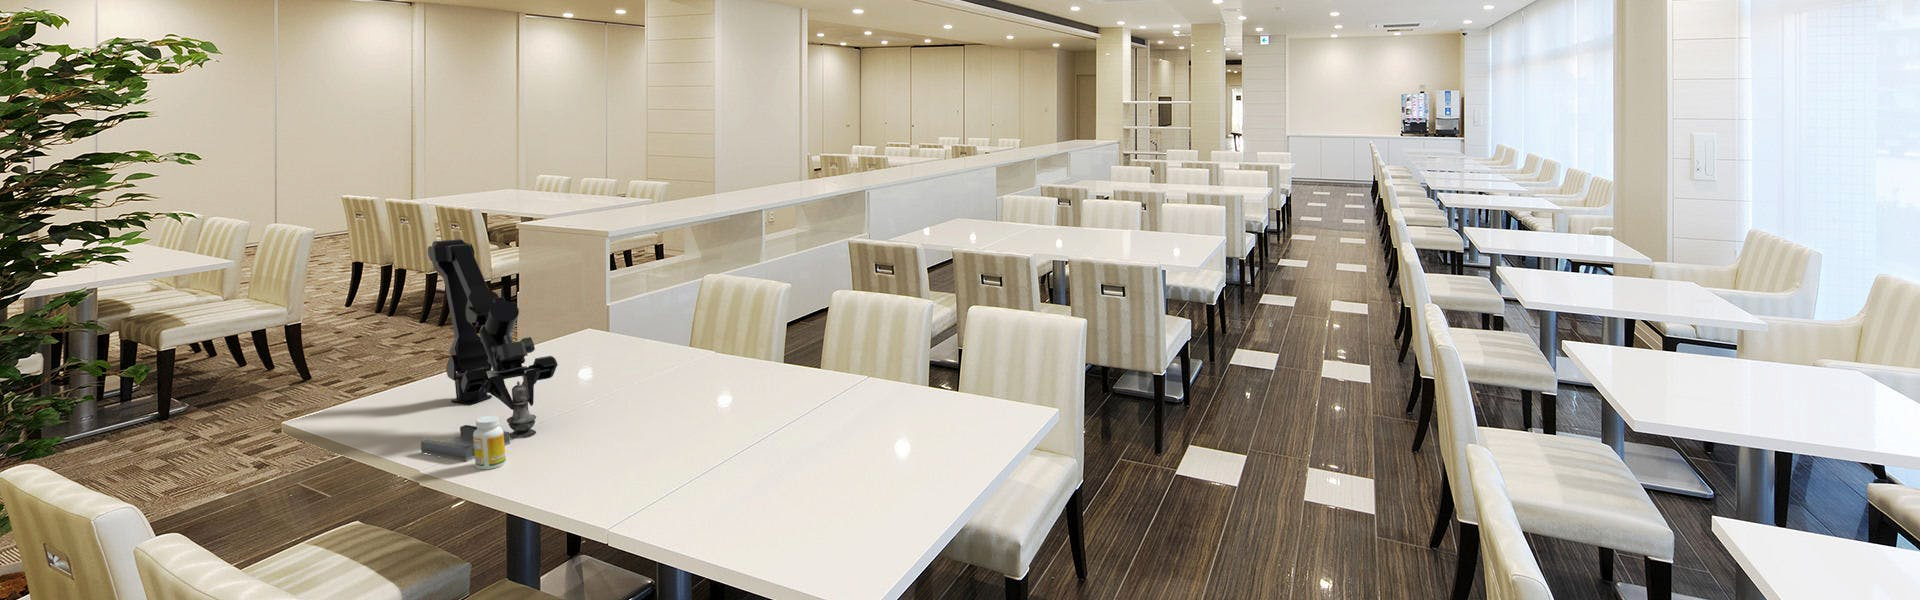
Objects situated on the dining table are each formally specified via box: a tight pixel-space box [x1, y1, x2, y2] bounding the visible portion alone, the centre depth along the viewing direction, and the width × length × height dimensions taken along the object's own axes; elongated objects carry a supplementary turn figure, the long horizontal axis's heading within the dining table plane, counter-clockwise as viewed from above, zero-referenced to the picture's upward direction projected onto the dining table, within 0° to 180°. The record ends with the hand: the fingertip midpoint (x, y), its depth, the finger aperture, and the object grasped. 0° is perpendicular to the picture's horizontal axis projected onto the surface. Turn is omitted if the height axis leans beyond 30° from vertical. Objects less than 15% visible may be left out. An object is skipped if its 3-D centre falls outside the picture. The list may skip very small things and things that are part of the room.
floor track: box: [420, 424, 511, 462], centre depth 189 cm, size 12×11×3 cm
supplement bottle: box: [473, 415, 507, 470], centre depth 180 cm, size 5×5×10 cm
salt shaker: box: [506, 381, 537, 439], centre depth 197 cm, size 6×6×12 cm
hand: (522, 406), depth 196 cm, fingers closed on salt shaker, 4 cm apart
